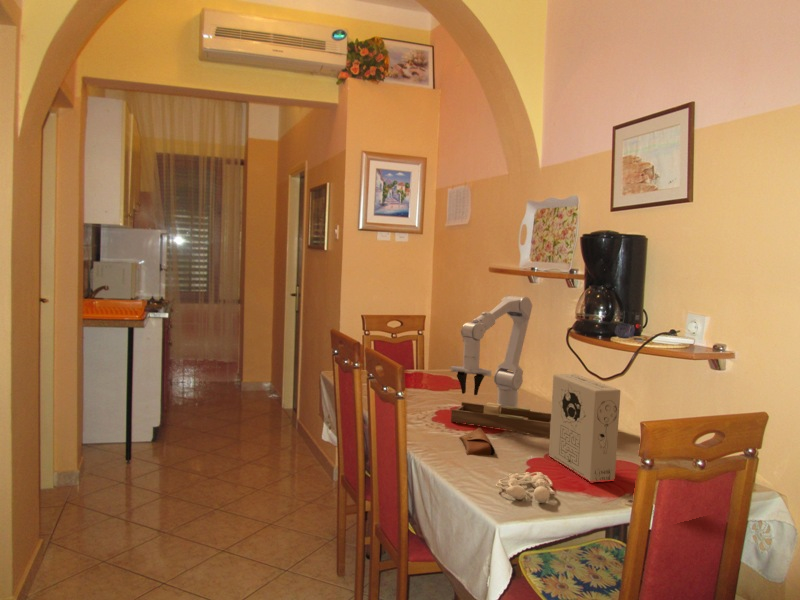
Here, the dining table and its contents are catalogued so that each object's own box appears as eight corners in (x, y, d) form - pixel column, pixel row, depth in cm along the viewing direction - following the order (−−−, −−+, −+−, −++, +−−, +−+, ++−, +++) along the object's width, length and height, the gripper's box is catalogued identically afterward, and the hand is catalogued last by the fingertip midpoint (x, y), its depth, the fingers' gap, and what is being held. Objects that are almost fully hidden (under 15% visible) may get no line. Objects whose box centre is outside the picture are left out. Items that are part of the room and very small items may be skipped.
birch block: (487, 413, 220) (487, 402, 220) (500, 415, 218) (501, 404, 218) (483, 416, 216) (483, 405, 215) (497, 418, 214) (497, 407, 213)
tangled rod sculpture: (503, 477, 169) (503, 462, 168) (557, 480, 164) (557, 465, 164) (492, 502, 150) (492, 485, 150) (553, 506, 146) (552, 489, 146)
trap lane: (462, 413, 228) (462, 400, 228) (555, 426, 215) (556, 412, 215) (450, 422, 216) (451, 408, 216) (548, 436, 203) (549, 421, 203)
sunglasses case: (457, 436, 199) (468, 419, 199) (474, 447, 200) (486, 430, 200) (466, 455, 182) (479, 436, 181) (486, 467, 182) (498, 448, 182)
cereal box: (615, 482, 164) (621, 390, 162) (590, 484, 162) (596, 390, 160) (570, 455, 185) (575, 373, 183) (548, 457, 183) (552, 374, 181)
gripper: (448, 355, 218) (446, 393, 219) (488, 360, 212) (486, 398, 213) (454, 353, 224) (453, 389, 225) (493, 357, 219) (491, 394, 220)
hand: (469, 393), depth 220 cm, fingers open, 4 cm apart
